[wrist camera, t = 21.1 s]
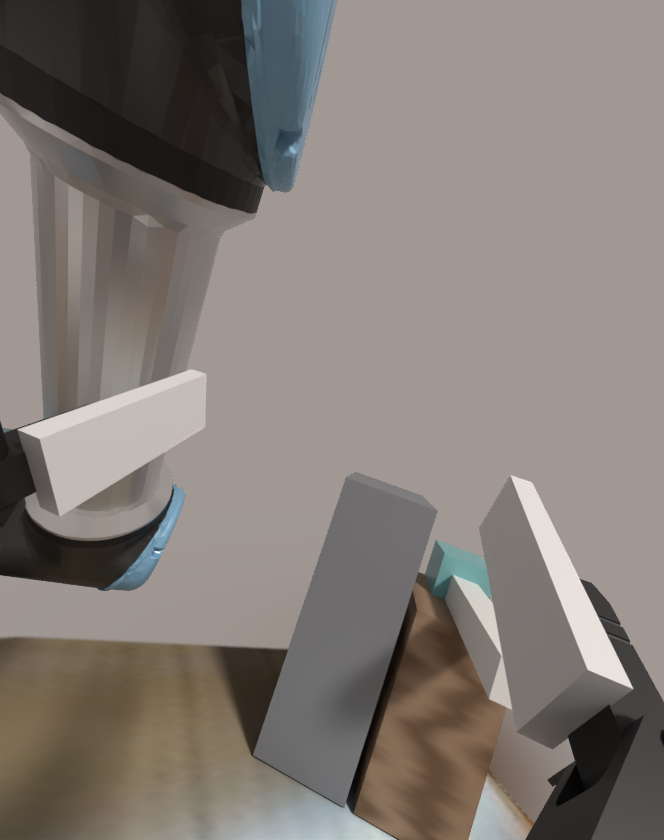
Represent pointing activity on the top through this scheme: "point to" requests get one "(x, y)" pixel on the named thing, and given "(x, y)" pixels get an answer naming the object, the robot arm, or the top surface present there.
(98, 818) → the top surface
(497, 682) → the bar
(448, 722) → the tall wooden pillar
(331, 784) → the tower
